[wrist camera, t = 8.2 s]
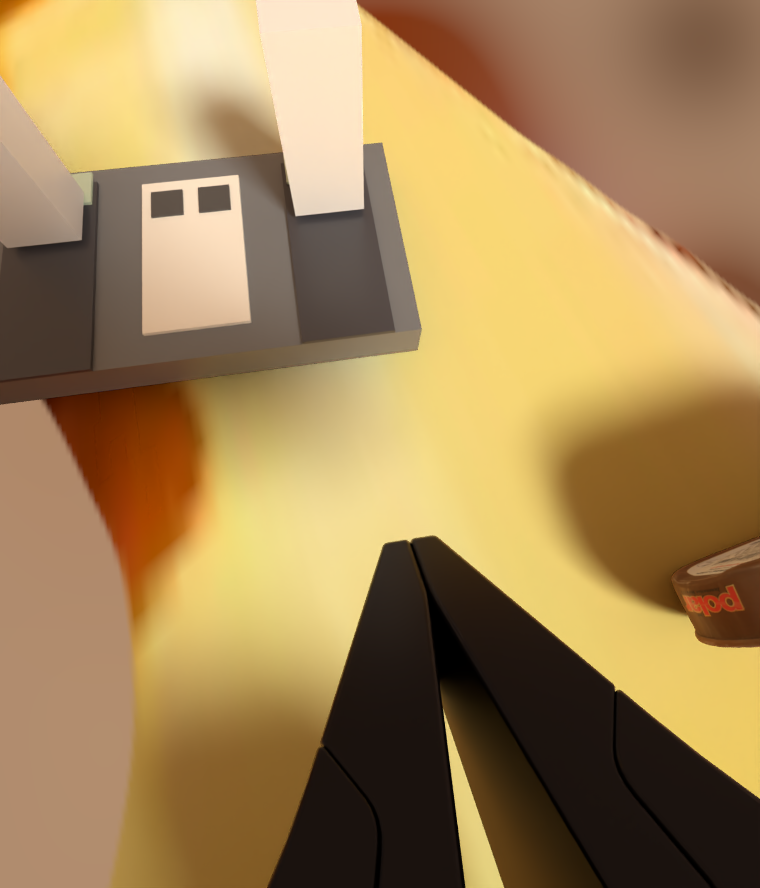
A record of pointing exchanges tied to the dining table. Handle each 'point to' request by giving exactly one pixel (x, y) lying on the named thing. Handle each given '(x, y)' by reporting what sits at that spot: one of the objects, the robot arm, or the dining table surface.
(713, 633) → the tin
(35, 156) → the tab grey
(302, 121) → the tab offwhite
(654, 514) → the dining table surface
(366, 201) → the switch bank
